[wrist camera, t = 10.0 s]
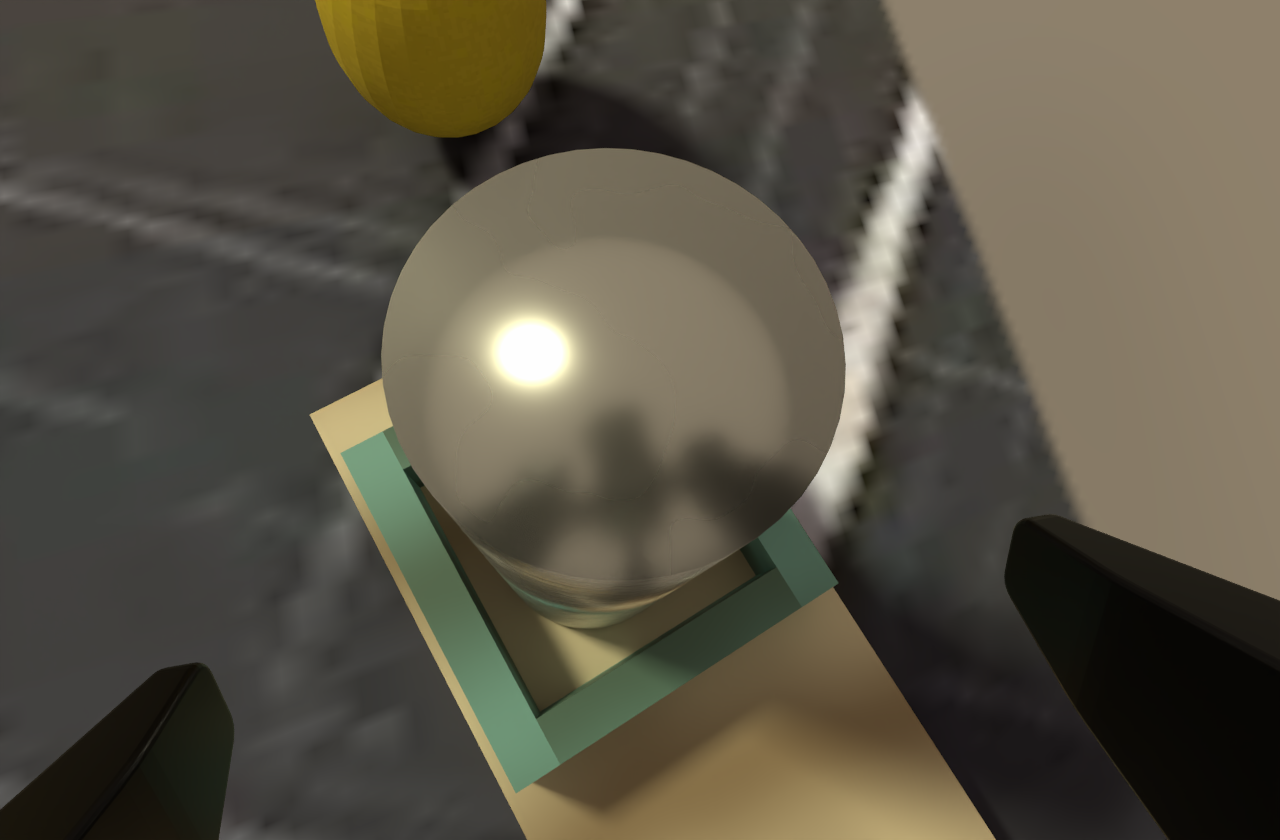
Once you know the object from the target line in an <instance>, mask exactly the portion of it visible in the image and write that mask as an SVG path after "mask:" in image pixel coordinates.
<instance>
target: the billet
mask: <svg viewBox="0 0 1280 840" xmlns="http://www.w3.org/2000/svg"><path fill="white" fill-rule="evenodd" d="M381 359H382V379H383V388H384V393H385V398H386V403H387V408H388V413H389V416H390V419H391V421H392V424H393V427H394V430H395V433H396V435H397V438H398V441H399V443H400V445H401V447H402V449H403V451H404V453H405V455H406V457H407V458H408V460H409V462H410V464H411V466H412V468H413V470H414V471H415V472H416V474H417V475H418V477H419V478H420V479H421V481H422V482H423V483H424V485H425V486H426V488H427V489H428V490H429V492H430V493H431V495H432V496H433V497H434V498H435V499H436V500H437V502H438V503H439V504H440V505H441V506H442V507H443V509H444V510H445V511H446V512H447V513H448V514H449V516H450V517H451V518H452V519H453V520H454V521H455V523H456V524H457V525H458V526H459V527H460V528H461V530H462V531H463V532H464V533H465V534H466V535H467V537H468V538H469V539H470V540H471V541H472V542H473V544H474V545H475V546H476V547H477V548H478V549H479V551H480V552H481V553H482V554H483V555H484V556H485V558H486V559H487V560H488V561H489V562H490V563H491V565H492V566H493V567H494V568H495V569H496V570H497V572H498V573H499V574H500V575H501V576H502V577H503V578H504V580H505V581H506V582H507V583H508V584H509V585H510V587H511V588H512V589H513V590H514V591H515V592H516V594H517V595H518V596H519V597H520V598H521V599H522V600H523V601H524V602H525V603H526V604H527V605H528V606H529V607H530V608H531V609H533V610H534V611H535V612H536V613H538V614H539V615H541V616H543V617H544V618H546V619H548V620H550V621H553V622H555V623H557V624H560V625H564V626H568V627H572V628H580V629H597V628H604V627H609V626H612V625H616V624H619V623H622V622H624V621H626V620H628V619H631V618H632V617H634V616H635V615H637V614H639V613H640V612H642V611H643V610H645V609H647V608H648V607H650V606H651V605H653V604H654V603H656V602H658V601H659V600H661V599H662V598H664V597H665V596H667V595H669V594H670V593H672V592H673V591H675V590H676V589H678V588H679V587H681V586H683V585H684V584H686V583H687V582H689V581H690V580H692V579H694V578H695V577H697V576H698V575H700V574H701V573H703V572H705V571H706V570H708V569H709V568H711V567H712V566H714V565H715V564H717V563H719V562H720V561H722V560H723V559H725V558H726V557H728V556H730V555H731V554H733V553H734V552H736V551H737V550H739V549H741V548H742V547H744V546H745V545H747V544H748V543H750V542H751V541H753V540H755V539H756V538H758V537H759V536H760V535H761V534H762V533H764V532H765V531H766V530H767V529H769V528H770V527H771V526H772V525H773V524H775V523H776V522H777V521H778V520H780V519H781V518H782V517H783V515H784V514H785V513H786V512H787V511H788V510H789V509H790V508H791V507H792V506H793V505H794V504H795V502H796V501H797V500H798V499H799V498H800V497H801V496H802V494H803V493H804V491H805V490H806V489H807V487H808V486H809V484H810V483H811V481H812V480H813V478H814V477H815V475H816V474H817V473H818V471H819V469H820V467H821V465H822V463H823V461H824V459H825V457H826V455H827V453H828V451H829V449H830V446H831V444H832V440H833V437H834V434H835V431H836V428H837V425H838V422H839V419H840V414H841V408H842V403H843V397H844V391H845V365H846V364H845V353H844V343H843V335H842V331H841V327H840V322H839V318H838V314H837V310H836V307H835V304H834V302H833V299H832V297H831V294H830V291H829V289H828V286H827V284H826V282H825V280H824V278H823V276H822V274H821V272H820V271H819V269H818V267H817V265H816V263H815V261H814V260H813V258H812V257H811V255H810V254H809V252H808V251H807V250H806V248H805V247H804V245H803V244H802V243H801V241H800V240H799V238H798V237H797V236H796V235H795V234H794V233H793V232H792V230H791V229H790V228H789V227H788V226H787V225H786V224H785V223H784V222H783V220H782V219H781V218H780V217H779V216H777V215H776V214H775V213H774V212H773V211H772V210H771V209H769V208H768V207H767V206H766V205H765V204H764V203H763V202H761V201H760V200H759V199H758V198H756V197H755V196H753V195H752V194H750V193H749V192H747V191H746V190H745V189H743V188H742V187H740V186H739V185H737V184H736V183H734V182H732V181H730V180H728V179H726V178H724V177H722V176H721V175H719V174H717V173H715V172H713V171H711V170H708V169H706V168H703V167H701V166H698V165H696V164H693V163H691V162H688V161H685V160H681V159H678V158H674V157H670V156H667V155H663V154H659V153H653V152H646V151H640V150H634V149H614V148H598V149H584V150H574V151H568V152H563V153H558V154H552V155H548V156H544V157H541V158H538V159H535V160H531V161H528V162H525V163H522V164H520V165H517V166H515V167H513V168H511V169H508V170H506V171H504V172H502V173H499V174H497V175H495V176H494V177H492V178H490V179H489V180H487V181H485V182H484V183H482V184H480V185H479V186H477V187H475V188H473V189H472V190H471V191H470V192H468V193H467V194H466V195H464V196H463V197H462V198H461V199H459V200H458V201H457V202H455V203H454V204H453V205H452V206H451V207H450V208H449V209H448V210H447V211H446V212H445V213H444V214H443V215H442V216H441V217H440V218H439V219H438V220H437V221H436V222H435V223H434V224H433V225H432V226H431V227H430V228H429V230H428V231H427V232H426V234H425V235H424V236H423V238H422V239H421V240H420V241H419V243H418V244H417V245H416V247H415V248H414V250H413V252H412V254H411V255H410V257H409V259H408V261H407V262H406V264H405V266H404V268H403V269H402V271H401V273H400V276H399V278H398V281H397V283H396V286H395V288H394V291H393V293H392V296H391V299H390V303H389V307H388V311H387V315H386V319H385V324H384V331H383V341H382V352H381Z"/></svg>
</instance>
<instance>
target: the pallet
mask: <svg viewBox="0 0 1280 840" xmlns="http://www.w3.org/2000/svg"><path fill="white" fill-rule="evenodd" d="M310 416H311V418H312V420H313V422H314V424H315V426H316V428H317V430H318V432H319V434H320V436H321V438H322V440H323V442H324V444H325V446H326V448H327V449H328V451H329V453H330V455H331V457H332V459H333V461H334V463H335V465H336V467H337V469H338V471H339V473H340V475H341V477H342V479H343V481H344V483H345V485H346V487H347V488H348V490H349V492H350V494H351V496H352V498H353V500H354V502H355V504H356V506H357V508H358V510H359V512H360V514H361V516H362V518H363V520H364V522H365V524H366V526H367V528H368V529H369V531H370V533H371V535H372V537H373V539H374V541H375V543H376V545H377V547H378V549H379V551H380V553H381V555H382V557H383V559H384V561H385V563H386V565H387V567H388V568H389V570H390V572H391V574H392V576H393V578H394V580H395V582H396V584H397V586H398V588H399V590H400V592H401V594H402V596H403V598H404V600H405V602H406V604H407V606H408V608H409V609H410V611H411V613H412V615H413V617H414V619H415V621H416V623H417V625H418V627H419V629H420V631H421V633H422V635H423V637H424V639H425V641H426V643H427V645H428V647H429V649H430V650H431V652H432V654H433V656H434V658H435V660H436V662H437V664H438V666H439V668H440V670H441V672H442V674H443V676H444V678H445V680H446V682H447V684H448V686H449V688H450V689H451V691H452V693H453V695H454V697H455V699H456V701H457V703H458V705H459V707H460V709H461V711H462V713H463V715H464V717H465V719H466V721H467V723H468V725H469V727H470V729H471V730H472V732H473V734H474V736H475V738H476V740H477V742H478V744H479V746H480V748H481V750H482V752H483V754H484V756H485V758H486V760H487V762H488V764H489V766H490V768H491V769H492V771H493V773H494V775H495V777H496V779H497V781H498V783H499V785H500V787H501V789H502V791H503V793H504V795H505V797H506V799H507V801H508V803H509V805H510V807H511V809H512V810H513V812H514V814H515V816H516V818H517V820H518V822H519V824H520V826H521V828H522V830H523V832H524V834H525V836H526V838H527V840H996V839H995V838H994V836H993V835H992V833H991V831H990V830H989V828H988V827H987V825H986V824H985V822H984V821H983V819H982V818H981V816H980V814H979V813H978V811H977V810H976V808H975V807H974V805H973V804H972V802H971V800H970V799H969V797H968V796H967V794H966V793H965V791H964V790H963V788H962V786H961V785H960V783H959V782H958V780H957V779H956V777H955V776H954V774H953V773H952V771H951V769H950V768H949V766H948V765H947V763H946V762H945V760H944V759H943V757H942V755H941V754H940V752H939V751H938V749H937V748H936V746H935V745H934V743H933V742H932V740H931V738H930V737H929V735H928V734H927V732H926V731H925V729H924V728H923V726H922V724H921V723H920V721H919V720H918V718H917V717H916V715H915V714H914V712H913V710H912V709H911V707H910V706H909V704H908V703H907V701H906V700H905V698H904V697H903V695H902V693H901V692H900V690H899V689H898V687H897V686H896V684H895V683H894V681H893V679H892V678H891V676H890V675H889V673H888V672H887V670H886V669H885V667H884V666H883V664H882V662H881V661H880V659H879V658H878V656H877V655H876V653H875V652H874V650H873V648H872V647H871V645H870V644H869V642H868V641H867V639H866V638H865V636H864V634H863V633H862V631H861V630H860V628H859V627H858V625H857V624H856V622H855V621H854V619H853V617H852V616H851V614H850V613H849V611H848V610H847V608H846V607H845V605H844V603H843V602H842V600H841V599H840V597H839V596H838V594H837V593H836V591H835V589H834V588H833V587H834V586H835V585H837V584H838V582H837V580H836V578H835V577H834V575H833V574H832V572H831V571H830V569H829V568H828V566H827V565H826V563H825V561H824V560H823V558H822V557H821V555H820V554H819V552H818V551H817V549H816V548H815V546H814V544H813V543H812V541H811V540H810V538H809V537H808V535H807V534H806V532H805V531H804V529H803V527H802V526H801V524H800V523H799V521H798V520H797V518H796V517H795V515H794V514H793V512H792V510H791V509H789V510H788V511H787V512H786V513H785V514H784V515H783V517H782V518H781V519H780V520H778V521H777V522H776V523H775V524H773V525H772V526H771V527H770V528H769V529H767V530H766V531H765V532H764V533H762V534H761V535H760V536H759V537H758V538H756V539H755V540H753V541H751V542H750V543H748V544H747V545H745V546H744V547H742V548H741V549H739V550H737V551H736V552H734V553H733V554H731V555H730V556H728V557H726V558H725V559H723V560H722V561H720V562H719V563H717V564H715V565H714V566H712V567H711V568H709V569H708V570H706V571H705V572H703V573H701V574H700V575H698V576H697V577H695V578H694V579H692V580H690V581H689V582H687V583H686V584H684V585H683V586H681V587H679V588H678V589H676V590H675V591H673V592H672V593H670V594H669V595H667V596H665V597H664V598H662V599H661V600H659V601H658V602H656V603H654V604H653V605H651V606H650V607H648V608H647V609H645V610H643V611H642V612H640V613H639V614H637V615H635V616H634V617H632V618H631V619H628V620H626V621H624V622H622V623H619V624H616V625H612V626H609V627H604V628H597V629H580V628H572V627H568V626H564V625H560V624H557V623H555V622H553V621H550V620H548V619H546V618H544V617H543V616H541V615H539V614H538V613H536V612H535V611H534V610H533V609H531V608H530V607H529V606H528V605H527V604H526V603H525V602H524V601H523V600H522V599H521V598H520V597H519V596H518V595H517V594H516V592H515V591H514V590H513V589H512V588H511V587H510V585H509V584H508V583H507V582H506V581H505V580H504V578H503V577H502V576H501V575H500V574H499V573H498V572H497V570H496V569H495V568H494V567H493V566H492V565H491V563H490V562H489V561H488V560H487V559H486V558H485V556H484V555H483V554H482V553H481V552H480V551H479V549H478V548H477V547H476V546H475V545H474V544H473V542H472V541H471V540H470V539H469V538H468V537H467V535H466V534H465V533H464V532H463V531H462V530H461V528H460V527H459V526H458V525H457V524H456V523H455V521H454V520H453V519H452V518H451V517H450V516H449V514H448V513H447V512H446V511H445V510H444V509H443V507H442V506H441V505H440V504H439V503H438V502H437V500H436V499H435V498H434V497H433V496H432V495H431V493H430V492H429V490H428V489H427V488H426V486H425V485H424V483H423V482H422V481H421V479H420V478H419V477H418V475H417V474H416V472H415V471H414V470H413V468H412V466H411V464H410V462H409V460H408V458H407V457H406V455H405V453H404V451H403V449H402V447H401V445H400V443H399V441H398V438H397V435H396V433H395V430H394V427H393V424H392V421H391V419H390V416H389V413H388V408H387V403H386V398H385V393H384V388H383V379H380V380H378V381H376V382H374V383H372V384H370V385H368V386H366V387H364V388H362V389H360V390H358V391H356V392H354V393H352V394H350V395H348V396H346V397H344V398H342V399H340V400H338V401H336V402H334V403H332V404H330V405H328V406H326V407H324V408H322V409H320V410H318V411H316V412H314V413H312V414H310Z"/></svg>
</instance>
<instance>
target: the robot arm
mask: <svg viewBox="0 0 1280 840" xmlns="http://www.w3.org/2000/svg"><path fill="white" fill-rule="evenodd" d="M1004 577H1005V585H1006V589H1007V592H1008V594H1009V596H1010V598H1011V600H1012V601H1013V603H1014V605H1015V607H1016V608H1017V610H1018V612H1019V614H1020V615H1021V617H1022V619H1023V621H1024V622H1025V624H1026V626H1027V627H1028V629H1029V631H1030V633H1031V634H1032V636H1033V638H1034V640H1035V641H1036V643H1037V645H1038V647H1039V648H1040V650H1041V652H1042V653H1043V655H1044V657H1045V659H1046V660H1047V662H1048V664H1049V666H1050V667H1051V669H1052V671H1053V673H1054V674H1055V676H1056V678H1057V680H1058V681H1059V683H1060V685H1061V686H1062V688H1063V690H1064V691H1065V693H1066V695H1067V696H1068V698H1069V700H1070V701H1071V703H1072V704H1073V706H1074V708H1075V709H1076V711H1077V712H1078V714H1079V715H1080V717H1081V718H1082V719H1083V721H1084V722H1085V724H1086V725H1087V727H1088V728H1089V730H1090V731H1091V733H1092V734H1093V735H1094V737H1095V738H1096V740H1097V741H1098V742H1099V744H1100V745H1101V747H1102V748H1103V749H1104V751H1105V752H1106V754H1107V755H1108V756H1109V758H1110V759H1111V761H1112V762H1113V763H1114V765H1115V766H1116V768H1117V769H1118V770H1119V772H1120V773H1121V775H1122V776H1123V777H1124V779H1125V780H1126V782H1127V783H1128V784H1129V786H1130V787H1131V789H1132V790H1133V791H1134V793H1135V794H1136V796H1137V797H1138V798H1139V800H1140V801H1141V803H1142V804H1143V805H1144V807H1145V808H1146V810H1147V811H1148V812H1149V814H1150V815H1151V817H1152V818H1153V819H1154V821H1155V822H1156V824H1157V825H1158V826H1159V828H1160V829H1161V831H1162V832H1163V833H1164V835H1165V836H1166V838H1167V839H1168V840H1280V601H1279V600H1277V599H1274V598H1271V597H1269V596H1266V595H1264V594H1261V593H1258V592H1256V591H1253V590H1250V589H1248V588H1245V587H1243V586H1240V585H1237V584H1235V583H1232V582H1230V581H1227V580H1225V579H1222V578H1219V577H1216V576H1214V575H1211V574H1209V573H1206V572H1204V571H1201V570H1199V569H1196V568H1193V567H1191V566H1188V565H1186V564H1183V563H1180V562H1178V561H1175V560H1173V559H1170V558H1167V557H1165V556H1162V555H1160V554H1157V553H1154V552H1151V551H1149V550H1146V549H1144V548H1141V547H1139V546H1136V545H1133V544H1131V543H1128V542H1126V541H1123V540H1120V539H1118V538H1115V537H1113V536H1110V535H1107V534H1105V533H1102V532H1100V531H1097V530H1094V529H1092V528H1089V527H1087V526H1084V525H1081V524H1079V523H1076V522H1074V521H1071V520H1068V519H1066V518H1063V517H1061V516H1058V515H1052V514H1049V515H1042V516H1036V517H1030V518H1025V519H1022V520H1020V521H1019V522H1018V523H1017V524H1016V525H1015V527H1014V530H1013V534H1012V539H1011V544H1010V548H1009V553H1008V558H1007V563H1006V568H1005V574H1004ZM233 742H234V724H233V719H232V716H231V713H230V711H229V709H228V707H227V705H226V702H225V700H224V698H223V696H222V694H221V692H220V689H219V687H218V685H217V683H216V681H215V679H214V676H213V674H212V672H211V671H210V669H209V668H208V667H207V666H206V665H205V664H203V663H190V664H184V665H179V666H173V667H167V668H164V669H161V670H159V671H157V672H156V673H154V674H153V675H152V676H150V677H149V678H148V679H147V680H146V681H145V682H144V683H143V684H141V685H140V686H139V687H138V688H137V689H136V690H135V691H134V692H132V693H131V694H130V695H129V696H128V697H127V698H126V699H125V700H123V701H122V702H121V703H120V704H119V705H118V706H117V707H116V708H114V709H113V710H112V711H111V712H110V713H109V714H108V715H107V716H105V717H104V718H103V719H102V720H101V721H100V722H99V723H98V724H96V725H95V726H94V727H93V728H92V729H91V730H90V731H88V732H87V733H86V734H85V735H84V736H83V737H82V738H81V739H79V740H78V741H77V742H76V743H75V744H74V745H73V746H72V747H70V748H69V749H68V750H67V751H66V752H65V753H64V754H63V755H61V756H60V757H59V758H58V759H57V760H56V761H55V762H54V763H52V764H51V765H50V766H49V767H48V768H47V769H46V770H45V771H43V772H42V773H41V774H40V775H39V776H38V777H37V778H35V779H34V780H33V781H32V782H31V783H30V784H29V785H28V786H26V787H25V788H24V789H23V790H22V791H21V792H20V793H19V794H17V795H16V796H15V797H14V798H13V799H12V800H11V801H10V802H8V803H7V804H6V805H5V806H4V807H3V808H2V809H1V810H0V840H218V839H219V833H220V827H221V820H222V814H223V807H224V801H225V794H226V788H227V781H228V775H229V768H230V762H231V755H232V749H233Z"/></svg>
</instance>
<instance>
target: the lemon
mask: <svg viewBox="0 0 1280 840" xmlns="http://www.w3.org/2000/svg"><path fill="white" fill-rule="evenodd" d="M315 1H316V5H317V9H318V12H319V15H320V18H321V22H322V25H323V28H324V31H325V34H326V37H327V40H328V43H329V45H330V47H331V50H332V52H333V54H334V56H335V58H336V59H337V61H338V63H339V65H340V66H341V68H342V69H343V70H344V72H345V73H346V75H347V76H348V78H349V79H350V80H351V82H352V83H353V85H354V86H355V87H356V89H357V90H358V92H359V93H360V94H361V95H362V96H363V97H364V99H365V100H366V101H368V102H369V103H370V104H371V105H372V106H374V107H375V108H376V109H377V110H378V111H380V112H381V113H382V114H383V115H385V116H386V117H387V118H388V119H389V120H391V121H393V122H395V123H397V124H399V125H401V126H403V127H405V128H407V129H410V130H412V131H414V132H416V133H421V134H425V135H429V136H434V137H463V136H468V135H473V134H477V133H479V132H481V131H484V130H486V129H488V128H490V127H493V126H495V125H497V124H498V123H499V122H501V121H502V120H503V119H504V118H506V117H507V116H508V115H510V114H511V113H512V112H513V111H514V110H515V109H516V108H517V106H518V105H519V104H520V102H521V101H522V100H523V98H524V97H525V96H526V95H527V93H528V92H529V90H530V88H531V86H532V84H533V81H534V79H535V76H536V74H537V71H538V68H539V66H540V63H541V60H542V56H543V51H544V43H545V29H546V0H315Z"/></svg>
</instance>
